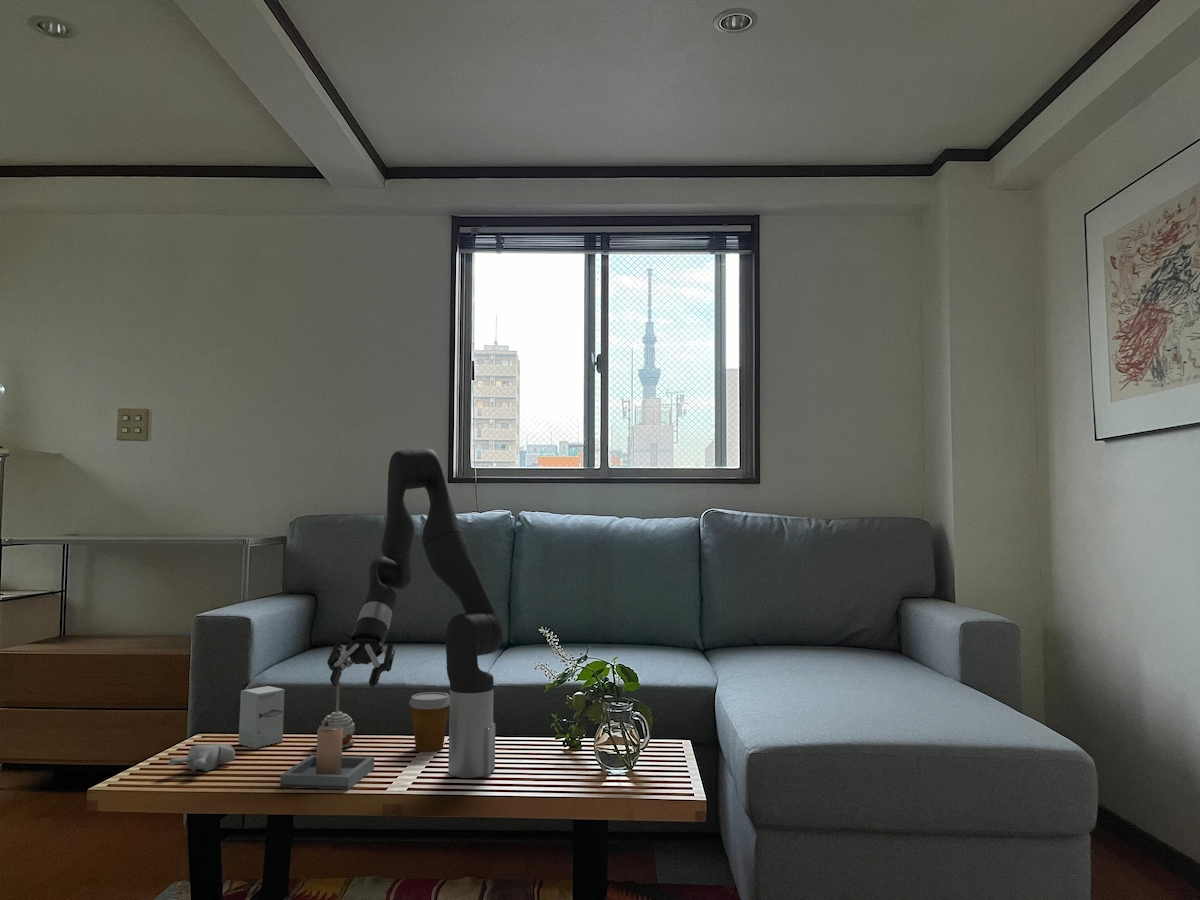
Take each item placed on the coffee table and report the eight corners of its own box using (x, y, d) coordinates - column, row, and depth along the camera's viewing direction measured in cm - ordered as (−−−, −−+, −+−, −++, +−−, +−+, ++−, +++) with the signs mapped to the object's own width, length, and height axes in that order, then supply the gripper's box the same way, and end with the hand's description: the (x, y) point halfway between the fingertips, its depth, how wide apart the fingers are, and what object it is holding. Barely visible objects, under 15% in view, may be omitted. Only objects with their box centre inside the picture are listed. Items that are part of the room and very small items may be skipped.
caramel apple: (317, 744, 198) (319, 679, 199) (351, 741, 201) (352, 677, 202) (320, 752, 191) (322, 685, 192) (355, 749, 194) (357, 683, 195)
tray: (373, 769, 178) (374, 757, 178) (348, 790, 164) (348, 777, 165) (310, 767, 180) (311, 755, 180) (280, 787, 166) (280, 774, 166)
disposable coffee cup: (453, 751, 192) (454, 698, 193) (412, 755, 188) (413, 701, 189) (445, 741, 201) (446, 690, 202) (405, 745, 197) (406, 693, 198)
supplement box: (254, 749, 193) (256, 693, 194) (237, 744, 198) (239, 689, 199) (283, 742, 199) (285, 688, 200) (266, 737, 203) (268, 684, 204)
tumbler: (344, 770, 174) (346, 726, 175) (335, 777, 170) (337, 732, 170) (321, 769, 175) (323, 725, 176) (311, 777, 170) (313, 731, 171)
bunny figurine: (246, 741, 186) (206, 751, 171) (244, 765, 185) (204, 777, 170) (206, 739, 187) (164, 749, 172) (204, 763, 186) (161, 775, 171)
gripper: (339, 615, 195) (316, 674, 183) (398, 616, 194) (379, 675, 182) (347, 635, 200) (326, 693, 188) (405, 636, 199) (387, 695, 187)
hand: (352, 684), depth 185 cm, fingers open, 8 cm apart
